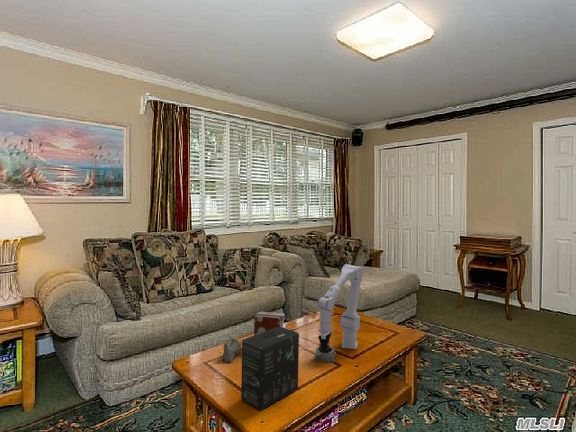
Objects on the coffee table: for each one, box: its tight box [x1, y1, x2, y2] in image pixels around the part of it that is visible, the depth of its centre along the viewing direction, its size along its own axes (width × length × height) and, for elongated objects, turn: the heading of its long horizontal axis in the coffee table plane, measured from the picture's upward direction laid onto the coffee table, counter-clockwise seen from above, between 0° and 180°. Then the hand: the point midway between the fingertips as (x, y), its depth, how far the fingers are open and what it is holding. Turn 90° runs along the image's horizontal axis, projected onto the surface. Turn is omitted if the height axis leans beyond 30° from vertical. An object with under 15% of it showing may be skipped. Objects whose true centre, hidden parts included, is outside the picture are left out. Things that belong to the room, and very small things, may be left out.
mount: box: [313, 345, 337, 363], centre depth 176 cm, size 10×10×4 cm
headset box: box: [240, 326, 300, 411], centre depth 142 cm, size 22×12×26 cm, turn 139°
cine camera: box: [253, 311, 290, 336], centre depth 181 cm, size 9×19×20 cm, turn 78°
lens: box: [318, 340, 331, 352], centre depth 176 cm, size 5×5×5 cm
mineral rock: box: [222, 337, 242, 363], centre depth 175 cm, size 13×11×10 cm
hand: (325, 347), depth 176 cm, fingers closed on lens, 5 cm apart
